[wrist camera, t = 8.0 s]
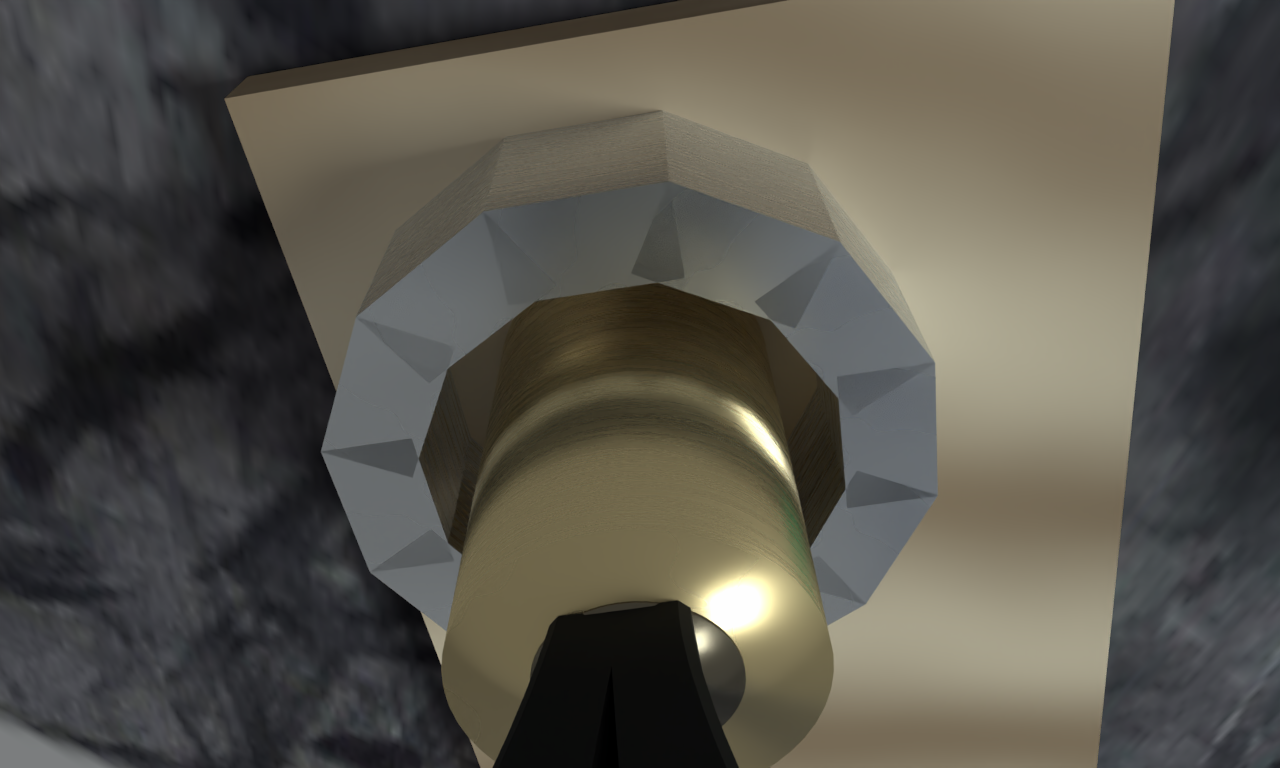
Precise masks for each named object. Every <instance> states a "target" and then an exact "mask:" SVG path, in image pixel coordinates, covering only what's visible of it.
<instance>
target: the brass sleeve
mask: <svg viewBox="0 0 1280 768" xmlns="http://www.w3.org/2000/svg"><path fill="white" fill-rule="evenodd" d="M676 600H679V601H680V602H682V603H684V604H685V605H687V606H689V607H690V608H691V614H692V619H693V624H694V629H695V635H696V640H697V645H698V650H699V655H700V660H701V666H702V671H703V674H704V678H705V681H706V684H707V687H708V690H709V693H710V696H711V699H712V702H713V705H714V707H715V710H716V713H717V715H718V718H719V721H720V723H721V726H722V729H723V731H724V734H725V736H726V738H727V741H728V743H729V745H730V748H731V750H732V752H733V755H734V757H735V759H736V762H737V764H738V766H739V768H769V767H771V766H772V765H774V764H775V763H777V762H778V761H779V760H780V759H782V758H783V757H784V756H786V755H787V754H788V753H790V752H791V751H792V750H793V749H794V748H795V747H796V746H797V745H798V744H799V743H800V742H801V741H802V740H803V739H804V738H805V737H806V735H807V734H808V733H809V731H810V730H811V729H812V727H813V726H814V725H815V724H816V722H817V720H818V718H819V717H820V715H821V713H822V711H823V709H824V708H825V705H826V702H827V700H828V697H829V694H830V691H831V687H832V680H833V674H834V656H833V649H832V645H831V640H830V636H829V631H828V627H827V622H826V617H825V613H824V608H823V604H822V599H821V595H820V590H819V586H818V581H817V577H816V572H815V568H814V563H813V559H812V554H811V549H810V545H809V540H808V536H807V531H806V527H805V522H804V518H803V513H802V509H801V504H800V500H799V495H798V491H797V486H796V482H795V477H794V472H793V468H792V463H791V459H790V454H789V450H788V445H787V441H786V436H785V432H784V427H783V423H782V418H781V414H780V409H779V404H778V400H777V395H776V391H775V386H774V382H773V377H772V373H771V368H770V364H769V359H768V355H767V350H766V346H765V341H764V337H763V334H762V332H761V329H760V326H759V324H758V322H757V320H756V318H755V317H754V315H753V314H751V313H748V312H745V311H742V310H739V309H736V308H733V307H730V306H727V305H723V304H720V303H717V302H714V301H711V300H708V299H705V298H702V297H699V296H696V295H693V294H690V293H687V292H684V291H681V290H678V289H675V288H672V287H669V286H666V285H663V284H660V283H650V284H644V285H638V286H631V287H625V288H618V289H612V290H605V291H599V292H592V293H586V294H579V295H573V296H566V297H560V298H553V299H547V300H540V301H535V302H534V303H532V304H531V305H530V306H529V307H527V308H526V309H525V310H523V311H522V312H521V313H519V314H518V315H517V316H516V317H515V318H514V319H513V321H512V323H511V326H510V328H509V331H508V333H507V335H506V339H505V343H504V347H503V352H502V357H501V362H500V367H499V372H498V377H497V382H496V387H495V392H494V397H493V402H492V407H491V412H490V417H489V422H488V427H487V432H486V437H485V442H484V447H483V452H482V457H481V462H480V467H479V472H478V477H477V482H476V487H475V492H474V497H473V502H472V507H471V512H470V517H469V522H468V527H467V532H466V537H465V542H464V547H463V552H462V557H461V562H460V567H459V572H458V577H457V582H456V587H455V592H454V597H453V602H452V607H451V612H450V617H449V622H448V627H447V632H446V637H445V642H444V647H443V652H442V666H441V673H442V681H443V689H444V692H445V695H446V698H447V701H448V705H449V707H450V709H451V711H452V713H453V715H454V717H455V719H456V721H457V722H458V724H459V725H460V727H461V728H462V729H463V731H464V732H465V733H466V735H467V736H468V737H469V738H470V739H471V741H472V742H473V743H474V744H475V745H476V746H477V747H478V748H479V749H480V750H481V751H482V752H484V753H485V754H486V755H487V756H489V757H490V758H491V759H492V760H494V761H496V759H497V757H498V755H499V752H500V750H501V748H502V746H503V744H504V741H505V739H506V737H507V735H508V733H509V730H510V728H511V725H512V723H513V721H514V718H515V716H516V713H517V711H518V709H519V706H520V704H521V702H522V699H523V697H524V694H525V692H526V689H527V687H528V684H529V682H530V679H531V676H532V674H533V671H534V668H535V666H536V663H537V660H538V657H539V655H540V652H541V649H542V646H543V643H544V640H545V637H546V634H547V631H548V628H549V625H550V624H551V623H552V622H553V621H554V620H555V619H556V618H557V617H558V616H561V615H569V614H576V613H582V614H584V615H588V614H596V613H604V612H611V611H619V610H627V609H634V608H642V607H649V606H655V605H657V604H658V603H660V602H668V601H676Z"/></svg>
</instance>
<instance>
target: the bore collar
mask: <svg viewBox="0 0 1280 768" xmlns="http://www.w3.org/2000/svg"><path fill="white" fill-rule="evenodd" d="M650 283H660V284H663V285H666V286H669V287H672V288H675V289H678V290H681V291H684V292H687V293H690V294H693V295H696V296H699V297H702V298H705V299H708V300H711V301H714V302H717V303H720V304H723V305H727V306H730V307H733V308H736V309H739V310H742V311H745V312H748V313H751V314H754V315H757V316H760V317H763V318H766V319H769V320H771V321H772V322H773V323H774V325H775V326H776V327H777V328H778V329H779V330H780V331H781V333H782V334H783V335H784V336H785V337H786V338H787V340H788V341H789V342H790V343H791V344H792V345H793V346H794V348H795V349H796V350H797V351H798V352H799V353H800V355H801V356H802V357H803V358H804V359H805V360H806V361H807V363H808V364H809V365H810V366H811V367H812V368H813V370H814V371H815V373H816V384H817V388H816V390H815V392H814V393H813V395H812V397H811V399H810V401H809V403H808V404H807V406H806V408H805V410H804V412H803V414H802V415H801V417H800V419H799V421H798V423H797V425H796V426H795V428H794V430H793V432H792V434H791V435H790V437H789V439H788V441H787V445H788V450H789V454H790V459H791V463H792V468H793V472H794V477H795V482H796V486H797V491H798V495H799V500H800V504H801V509H802V513H803V518H804V522H805V527H806V531H807V536H808V540H809V545H810V549H811V554H812V559H813V563H814V568H815V572H816V577H817V581H818V586H819V590H820V595H821V599H822V604H823V608H824V613H825V617H826V622H827V626H828V625H830V624H831V623H833V622H835V621H837V620H839V619H840V618H842V617H844V616H846V615H847V614H849V613H851V612H853V611H855V610H856V609H858V608H860V607H862V606H864V605H865V604H866V603H867V602H868V600H869V599H870V597H871V596H872V594H873V593H874V591H875V590H876V588H877V587H878V585H879V584H880V582H881V581H882V579H883V578H884V576H885V575H886V573H887V572H888V570H889V568H890V567H891V565H892V564H893V562H894V561H895V559H896V558H897V556H898V555H899V553H900V552H901V550H902V549H903V547H904V546H905V544H906V543H907V541H908V540H909V538H910V537H911V535H912V534H913V532H914V531H915V529H916V528H917V526H918V525H919V523H920V522H921V520H922V519H923V517H924V516H925V514H926V513H927V511H928V510H929V508H930V507H931V505H932V504H933V502H934V501H935V499H936V498H937V496H938V480H937V428H936V377H935V361H934V359H933V357H932V355H931V352H930V350H929V348H928V346H927V344H926V342H925V340H924V338H923V336H922V334H921V332H920V330H919V328H918V325H917V323H916V321H915V319H914V317H913V315H912V313H911V311H910V309H909V307H908V305H907V303H906V300H905V298H904V296H903V294H902V292H901V290H900V288H899V286H898V284H897V282H896V280H895V278H894V275H893V273H892V272H891V270H890V269H889V268H888V267H887V265H886V264H885V263H884V261H883V260H882V259H881V257H880V256H879V255H878V254H877V252H876V251H875V250H874V248H873V247H872V246H871V245H870V243H869V242H868V241H867V239H866V238H865V237H864V235H863V234H862V233H861V232H860V230H859V229H858V228H857V226H856V225H855V224H854V222H853V221H852V220H851V219H850V217H849V216H848V215H847V213H846V212H845V211H844V210H843V208H842V207H841V206H840V204H839V203H838V202H837V200H836V199H835V198H834V197H833V195H832V194H831V193H830V191H829V190H828V189H827V188H826V186H825V185H824V184H823V182H822V181H821V180H820V178H819V177H818V176H817V175H816V173H815V172H814V171H813V169H812V168H811V167H810V166H809V164H808V163H805V162H802V161H799V160H797V159H794V158H791V157H788V156H786V155H783V154H780V153H778V152H775V151H772V150H769V149H767V148H764V147H761V146H759V145H756V144H753V143H750V142H748V141H745V140H742V139H739V138H737V137H734V136H731V135H729V134H726V133H723V132H720V131H718V130H715V129H712V128H709V127H707V126H704V125H701V124H699V123H696V122H693V121H690V120H688V119H685V118H682V117H679V116H677V115H674V114H671V113H669V112H666V111H663V110H662V111H656V112H650V113H644V114H638V115H632V116H626V117H620V118H614V119H608V120H602V121H596V122H590V123H584V124H578V125H572V126H566V127H560V128H554V129H548V130H542V131H536V132H530V133H524V134H518V135H512V136H506V137H505V138H504V139H502V140H501V141H500V142H499V143H498V144H497V145H495V146H494V147H493V148H492V149H491V150H490V151H488V152H487V153H486V154H485V155H484V156H482V157H481V158H480V159H479V160H478V161H477V162H475V163H474V164H473V165H472V166H471V167H470V168H468V169H467V170H466V171H465V172H464V173H462V174H461V175H460V176H459V177H458V178H457V179H455V180H454V181H453V182H452V183H451V184H450V185H448V186H447V187H446V188H445V189H444V190H443V191H441V192H440V193H439V194H438V195H437V196H435V197H434V198H433V199H432V200H431V201H430V202H428V203H427V204H426V205H425V206H424V207H423V208H421V209H420V210H419V211H418V212H417V213H415V214H414V215H413V216H412V217H411V218H410V219H408V220H407V221H406V222H405V223H404V224H403V225H401V226H400V227H399V228H398V229H397V230H396V231H395V233H394V235H393V237H392V239H391V241H390V244H389V246H388V248H387V250H386V252H385V254H384V257H383V259H382V261H381V263H380V265H379V268H378V270H377V272H376V274H375V276H374V279H373V281H372V283H371V285H370V287H369V289H368V292H367V294H366V296H365V298H364V300H363V303H362V305H361V307H360V309H359V311H358V313H357V316H356V319H355V323H354V327H353V331H352V334H351V338H350V342H349V346H348V350H347V354H346V357H345V361H344V365H343V369H342V373H341V377H340V380H339V384H338V388H337V392H336V396H335V400H334V403H333V407H332V411H331V415H330V419H329V423H328V426H327V430H326V434H325V438H324V442H323V446H322V449H321V453H322V456H323V458H324V461H325V463H326V466H327V468H328V470H329V473H330V475H331V478H332V480H333V483H334V485H335V488H336V490H337V493H338V495H339V497H340V500H341V502H342V505H343V507H344V510H345V512H346V515H347V517H348V520H349V522H350V524H351V527H352V529H353V532H354V534H355V537H356V539H357V542H358V544H359V546H360V549H361V551H362V554H363V556H364V559H365V561H366V564H367V566H368V569H369V571H370V573H372V574H373V575H374V576H375V577H377V578H378V579H379V580H381V581H382V582H383V583H385V584H386V585H387V586H388V587H390V588H391V589H392V590H394V591H395V592H396V593H397V594H399V595H400V596H401V597H403V598H404V599H405V600H407V601H408V602H409V603H410V604H412V605H413V606H414V607H416V608H417V609H418V610H420V611H421V612H422V613H423V614H425V615H426V616H427V617H429V618H430V619H431V620H432V621H434V622H435V623H436V624H438V625H439V626H440V627H442V628H443V629H444V630H445V631H447V627H448V622H449V617H450V612H451V607H452V602H453V597H454V592H455V587H456V582H457V577H458V572H459V567H460V562H461V557H462V552H463V547H464V542H465V537H466V532H467V527H468V522H469V517H470V512H471V507H472V502H473V497H474V492H475V487H476V482H477V477H478V472H479V467H480V462H481V457H482V452H483V447H482V446H480V445H479V444H478V443H477V442H476V441H475V440H474V439H473V438H471V435H470V432H469V428H468V425H467V422H466V419H465V415H464V412H463V409H462V406H461V403H460V399H459V396H458V393H457V390H456V386H455V383H454V380H453V377H452V374H451V370H450V367H451V366H452V365H453V364H454V363H456V362H457V361H458V360H460V359H461V358H462V357H464V356H465V355H466V354H467V353H469V352H470V351H471V350H473V349H474V348H475V347H477V346H478V345H479V344H480V343H482V342H483V341H484V340H486V339H487V338H488V337H490V336H491V335H492V334H493V333H495V332H496V331H497V330H499V329H500V328H501V327H503V326H504V325H505V324H506V323H508V322H509V321H510V320H512V319H513V318H514V317H516V316H517V315H518V314H519V313H521V312H522V311H523V310H525V309H526V308H527V307H529V306H530V305H531V304H532V303H534V302H535V301H540V300H547V299H553V298H560V297H566V296H573V295H579V294H586V293H592V292H599V291H605V290H612V289H618V288H625V287H631V286H638V285H644V284H650Z"/></svg>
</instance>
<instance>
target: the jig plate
mask: <svg viewBox="0 0 1280 768" xmlns="http://www.w3.org/2000/svg"><path fill="white" fill-rule="evenodd" d="M1174 1H1175V0H680V1H675V2H669V3H663V4H657V5H652V6H646V7H640V8H635V9H629V10H623V11H618V12H612V13H606V14H601V15H595V16H589V17H584V18H578V19H572V20H566V21H561V22H555V23H549V24H544V25H538V26H532V27H527V28H521V29H515V30H510V31H504V32H498V33H493V34H487V35H481V36H475V37H470V38H464V39H458V40H453V41H447V42H441V43H436V44H430V45H424V46H419V47H413V48H407V49H402V50H396V51H390V52H384V53H379V54H373V55H367V56H362V57H356V58H350V59H345V60H339V61H333V62H328V63H322V64H316V65H311V66H305V67H299V68H293V69H288V70H282V71H276V72H271V73H265V74H259V75H254V76H248V77H247V78H246V79H245V80H244V81H243V82H242V83H240V84H239V85H238V86H237V87H236V88H235V89H234V90H233V91H232V92H231V93H230V94H229V95H228V96H226V97H225V98H224V100H225V102H226V105H227V107H228V110H229V113H230V115H231V118H232V120H233V123H234V126H235V128H236V131H237V133H238V136H239V139H240V141H241V144H242V147H243V149H244V152H245V154H246V157H247V160H248V162H249V165H250V167H251V170H252V173H253V175H254V178H255V180H256V183H257V186H258V188H259V191H260V193H261V196H262V199H263V201H264V204H265V207H266V209H267V212H268V214H269V217H270V220H271V222H272V225H273V227H274V230H275V233H276V235H277V238H278V240H279V243H280V246H281V248H282V251H283V253H284V256H285V259H286V261H287V264H288V267H289V269H290V272H291V274H292V277H293V280H294V282H295V285H296V287H297V290H298V293H299V295H300V298H301V300H302V303H303V306H304V308H305V311H306V313H307V316H308V319H309V321H310V324H311V327H312V329H313V332H314V334H315V337H316V340H317V342H318V345H319V347H320V350H321V353H322V355H323V358H324V360H325V363H326V366H327V368H328V371H329V374H330V376H331V379H332V381H333V384H334V387H335V389H336V392H337V388H338V384H339V380H340V377H341V373H342V369H343V365H344V361H345V357H346V354H347V350H348V346H349V342H350V338H351V334H352V331H353V327H354V323H355V319H356V316H357V313H358V311H359V309H360V307H361V305H362V303H363V300H364V298H365V296H366V294H367V292H368V289H369V287H370V285H371V283H372V281H373V279H374V276H375V274H376V272H377V270H378V268H379V265H380V263H381V261H382V259H383V257H384V254H385V252H386V250H387V248H388V246H389V244H390V241H391V239H392V237H393V235H394V233H395V231H396V230H397V229H398V228H399V227H400V226H401V225H403V224H404V223H405V222H406V221H407V220H408V219H410V218H411V217H412V216H413V215H414V214H415V213H417V212H418V211H419V210H420V209H421V208H423V207H424V206H425V205H426V204H427V203H428V202H430V201H431V200H432V199H433V198H434V197H435V196H437V195H438V194H439V193H440V192H441V191H443V190H444V189H445V188H446V187H447V186H448V185H450V184H451V183H452V182H453V181H454V180H455V179H457V178H458V177H459V176H460V175H461V174H462V173H464V172H465V171H466V170H467V169H468V168H470V167H471V166H472V165H473V164H474V163H475V162H477V161H478V160H479V159H480V158H481V157H482V156H484V155H485V154H486V153H487V152H488V151H490V150H491V149H492V148H493V147H494V146H495V145H497V144H498V143H499V142H500V141H501V140H502V139H504V138H505V137H506V136H512V135H518V134H524V133H530V132H536V131H542V130H548V129H554V128H560V127H566V126H572V125H578V124H584V123H590V122H596V121H602V120H608V119H614V118H620V117H626V116H632V115H638V114H644V113H650V112H656V111H662V110H663V111H666V112H669V113H671V114H674V115H677V116H679V117H682V118H685V119H688V120H690V121H693V122H696V123H699V124H701V125H704V126H707V127H709V128H712V129H715V130H718V131H720V132H723V133H726V134H729V135H731V136H734V137H737V138H739V139H742V140H745V141H748V142H750V143H753V144H756V145H759V146H761V147H764V148H767V149H769V150H772V151H775V152H778V153H780V154H783V155H786V156H788V157H791V158H794V159H797V160H799V161H802V162H805V163H808V164H809V166H810V167H811V168H812V169H813V171H814V172H815V173H816V175H817V176H818V177H819V178H820V180H821V181H822V182H823V184H824V185H825V186H826V188H827V189H828V190H829V191H830V193H831V194H832V195H833V197H834V198H835V199H836V200H837V202H838V203H839V204H840V206H841V207H842V208H843V210H844V211H845V212H846V213H847V215H848V216H849V217H850V219H851V220H852V221H853V222H854V224H855V225H856V226H857V228H858V229H859V230H860V232H861V233H862V234H863V235H864V237H865V238H866V239H867V241H868V242H869V243H870V245H871V246H872V247H873V248H874V250H875V251H876V252H877V254H878V255H879V256H880V257H881V259H882V260H883V261H884V263H885V264H886V265H887V267H888V268H889V269H890V270H891V272H892V273H893V275H894V278H895V280H896V282H897V284H898V286H899V288H900V290H901V292H902V294H903V296H904V298H905V300H906V303H907V305H908V307H909V309H910V311H911V313H912V315H913V317H914V319H915V321H916V323H917V325H918V328H919V330H920V332H921V334H922V336H923V338H924V340H925V342H926V344H927V346H928V348H929V350H930V352H931V355H932V357H933V359H934V361H935V377H936V428H937V480H938V496H937V498H936V499H935V501H934V502H933V504H932V505H931V507H930V508H929V510H928V511H927V513H926V514H925V516H924V517H923V519H922V520H921V522H920V523H919V525H918V526H917V528H916V529H915V531H914V532H913V534H912V535H911V537H910V538H909V540H908V541H907V543H906V544H905V546H904V547H903V549H902V550H901V552H900V553H899V555H898V556H897V558H896V559H895V561H894V562H893V564H892V565H891V567H890V568H889V570H888V572H887V573H886V575H885V576H884V578H883V579H882V581H881V582H880V584H879V585H878V587H877V588H876V590H875V591H874V593H873V594H872V596H871V597H870V599H869V600H868V602H867V603H866V604H865V605H864V606H862V607H860V608H858V609H856V610H855V611H853V612H851V613H849V614H847V615H846V616H844V617H842V618H840V619H839V620H837V621H835V622H833V623H831V624H830V625H828V626H827V627H828V631H829V636H830V640H831V645H832V649H833V656H834V674H833V680H832V687H831V691H830V694H829V697H828V700H827V702H826V705H825V708H824V709H823V711H822V713H821V715H820V717H819V718H818V720H817V722H816V724H815V725H814V726H813V727H812V729H811V730H810V731H809V733H808V734H807V735H806V737H805V738H804V739H803V740H802V741H801V742H800V743H799V744H798V745H797V746H796V747H795V748H794V749H793V750H792V751H791V752H790V753H788V754H787V755H786V756H784V757H783V758H782V759H780V760H779V761H778V762H777V763H775V764H774V765H772V766H771V767H769V768H1097V760H1098V750H1099V740H1100V730H1101V720H1102V711H1103V701H1104V691H1105V681H1106V671H1107V661H1108V652H1109V642H1110V632H1111V622H1112V612H1113V602H1114V592H1115V583H1116V573H1117V563H1118V553H1119V543H1120V533H1121V523H1122V514H1123V504H1124V494H1125V484H1126V474H1127V464H1128V455H1129V445H1130V435H1131V425H1132V415H1133V405H1134V395H1135V386H1136V376H1137V366H1138V356H1139V346H1140V336H1141V326H1142V317H1143V307H1144V297H1145V287H1146V277H1147V267H1148V258H1149V248H1150V238H1151V228H1152V218H1153V208H1154V198H1155V189H1156V179H1157V169H1158V159H1159V149H1160V139H1161V129H1162V120H1163V110H1164V100H1165V90H1166V80H1167V70H1168V61H1169V51H1170V41H1171V31H1172V21H1173V11H1174ZM753 315H754V314H753ZM754 317H755V318H756V320H757V322H758V324H759V326H760V329H761V332H762V334H763V337H764V341H765V346H766V350H767V355H768V359H769V364H770V368H771V373H772V377H773V382H774V386H775V391H776V395H777V400H778V404H779V409H780V414H781V418H782V423H783V427H784V432H785V436H786V441H788V439H789V437H790V435H791V434H792V432H793V430H794V428H795V426H796V425H797V423H798V421H799V419H800V417H801V415H802V414H803V412H804V410H805V408H806V406H807V404H808V403H809V401H810V399H811V397H812V395H813V393H814V392H815V390H816V388H817V384H816V373H815V371H814V370H813V368H812V367H811V366H810V365H809V364H808V363H807V361H806V360H805V359H804V358H803V357H802V356H801V355H800V353H799V352H798V351H797V350H796V349H795V348H794V346H793V345H792V344H791V343H790V342H789V341H788V340H787V338H786V337H785V336H784V335H783V334H782V333H781V331H780V330H779V329H778V328H777V327H776V326H775V325H774V323H773V322H772V321H771V320H769V319H766V318H763V317H760V316H757V315H754ZM514 318H515V317H514ZM514 318H513V319H514ZM513 319H512V320H510V321H509V322H508V323H506V324H505V325H504V326H503V327H501V328H500V329H499V330H497V331H496V332H495V333H493V334H492V335H491V336H490V337H488V338H487V339H486V340H484V341H483V342H482V343H480V344H479V345H478V346H477V347H475V348H474V349H473V350H471V351H470V352H469V353H467V354H466V355H465V356H464V357H462V358H461V359H460V360H458V361H457V362H456V363H454V364H453V365H452V366H451V367H450V370H451V374H452V377H453V380H454V383H455V386H456V390H457V393H458V396H459V399H460V403H461V406H462V409H463V412H464V415H465V419H466V422H467V425H468V428H469V432H470V435H471V438H473V439H474V440H475V441H476V442H477V443H478V444H479V445H480V446H482V447H484V442H485V437H486V432H487V427H488V422H489V417H490V412H491V407H492V402H493V397H494V392H495V387H496V382H497V377H498V372H499V367H500V362H501V357H502V352H503V347H504V343H505V339H506V335H507V333H508V331H509V328H510V326H511V323H512V321H513ZM421 614H422V616H423V619H424V621H425V624H426V627H427V629H428V632H429V634H430V637H431V640H432V642H433V645H434V647H435V650H436V653H437V655H438V658H439V660H440V663H441V666H442V652H443V647H444V642H445V637H446V632H447V631H445V630H444V629H443V628H442V627H440V626H439V625H438V624H436V623H435V622H434V621H432V620H431V619H430V618H429V617H427V616H426V615H425V614H423V613H422V612H421ZM469 739H470V738H469ZM470 741H471V739H470ZM471 744H472V747H473V749H474V752H475V754H476V757H477V760H478V762H479V765H480V767H481V768H493V765H494V763H495V761H494V760H492V759H491V758H490V757H489V756H487V755H486V754H485V753H484V752H482V751H481V750H480V749H479V748H478V747H477V746H476V745H475V744H474V743H473V742H472V741H471Z"/></svg>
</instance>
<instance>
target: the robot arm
mask: <svg viewBox="0 0 1280 768" xmlns="http://www.w3.org/2000/svg"><path fill="white" fill-rule="evenodd" d="M493 768H739V766H738V764H737V762H736V759H735V757H734V755H733V752H732V750H731V748H730V745H729V743H728V741H727V738H726V736H725V734H724V731H723V729H722V726H721V723H720V721H719V718H718V715H717V713H716V710H715V707H714V705H713V702H712V699H711V696H710V693H709V690H708V687H707V684H706V681H705V678H704V674H703V671H702V666H701V660H700V655H699V650H698V645H697V640H696V635H695V629H694V624H693V619H692V614H691V608H690V607H689V606H687V605H685V604H684V603H682V602H680V601H679V600H676V601H668V602H660V603H658V604H657V605H655V606H649V607H642V608H634V609H627V610H619V611H611V612H604V613H596V614H588V615H584V614H582V613H576V614H569V615H561V616H558V617H557V618H556V619H555V620H554V621H553V622H552V623H551V624H550V625H549V628H548V631H547V634H546V637H545V640H544V643H543V646H542V649H541V652H540V655H539V657H538V660H537V663H536V666H535V668H534V671H533V674H532V676H531V679H530V682H529V684H528V687H527V689H526V692H525V694H524V697H523V699H522V702H521V704H520V706H519V709H518V711H517V713H516V716H515V718H514V721H513V723H512V725H511V728H510V730H509V733H508V735H507V737H506V739H505V741H504V744H503V746H502V748H501V750H500V752H499V755H498V757H497V759H496V761H495V763H494V765H493Z"/></svg>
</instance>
